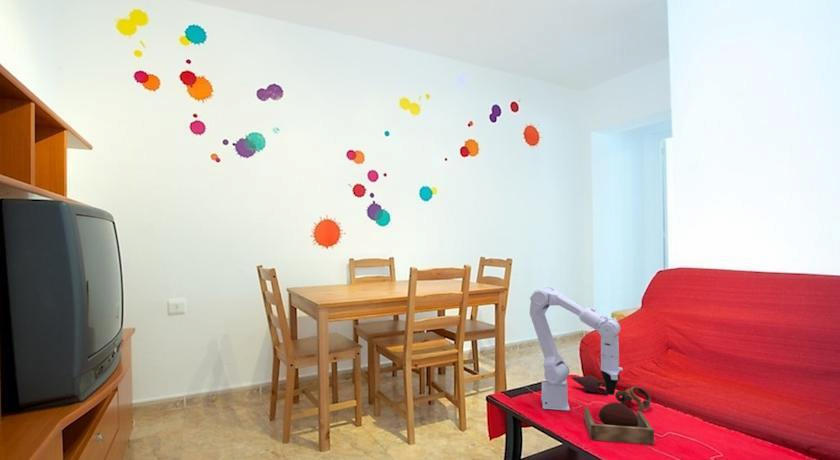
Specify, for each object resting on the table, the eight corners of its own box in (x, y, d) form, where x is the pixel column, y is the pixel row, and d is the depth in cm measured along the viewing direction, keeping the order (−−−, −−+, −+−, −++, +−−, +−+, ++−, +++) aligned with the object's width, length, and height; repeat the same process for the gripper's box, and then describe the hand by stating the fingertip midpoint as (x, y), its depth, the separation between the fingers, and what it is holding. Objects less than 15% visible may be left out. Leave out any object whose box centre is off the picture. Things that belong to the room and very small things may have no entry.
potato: (635, 442, 133) (634, 412, 133) (595, 431, 141) (594, 403, 141) (641, 431, 140) (641, 403, 140) (603, 422, 148) (602, 395, 148)
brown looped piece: (636, 401, 166) (646, 386, 163) (646, 422, 158) (657, 406, 154) (607, 394, 165) (616, 379, 162) (616, 415, 157) (626, 399, 153)
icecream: (567, 374, 178) (604, 386, 168) (575, 366, 183) (611, 376, 173) (568, 389, 180) (604, 401, 169) (575, 380, 185) (611, 392, 174)
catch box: (591, 439, 136) (591, 425, 136) (584, 420, 149) (584, 407, 149) (654, 444, 132) (653, 429, 132) (641, 424, 145) (640, 411, 145)
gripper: (627, 361, 142) (627, 402, 142) (617, 349, 156) (617, 387, 156) (604, 360, 143) (605, 401, 143) (596, 348, 158) (597, 385, 158)
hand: (610, 393), depth 150 cm, fingers closed
